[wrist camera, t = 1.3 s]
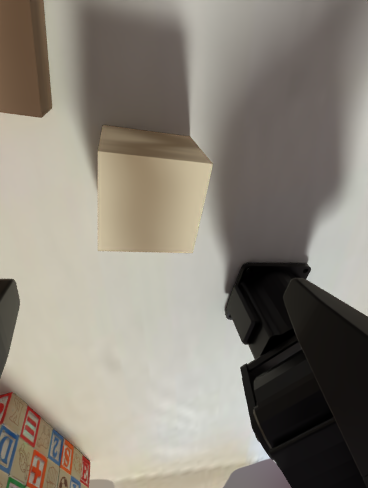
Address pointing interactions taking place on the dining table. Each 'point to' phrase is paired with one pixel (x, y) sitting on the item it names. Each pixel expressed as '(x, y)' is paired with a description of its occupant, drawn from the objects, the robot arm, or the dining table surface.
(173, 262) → the dining table surface
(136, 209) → the maple cube
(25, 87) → the walnut base slab
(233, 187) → the dining table surface
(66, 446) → the stack of blocks
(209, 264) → the dining table surface
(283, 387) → the robot arm
